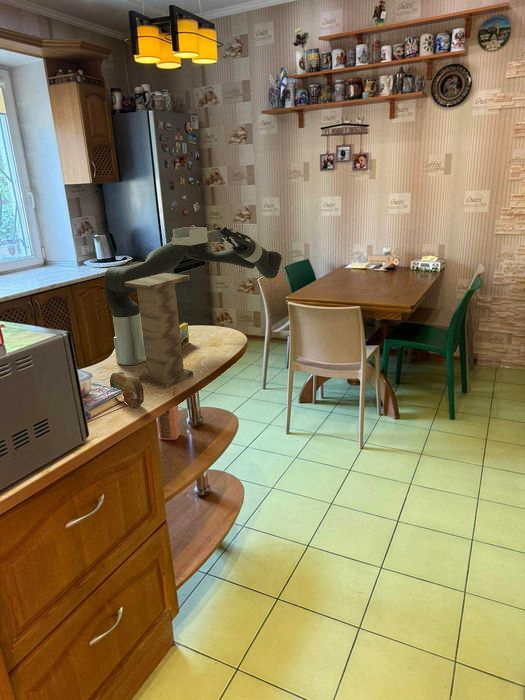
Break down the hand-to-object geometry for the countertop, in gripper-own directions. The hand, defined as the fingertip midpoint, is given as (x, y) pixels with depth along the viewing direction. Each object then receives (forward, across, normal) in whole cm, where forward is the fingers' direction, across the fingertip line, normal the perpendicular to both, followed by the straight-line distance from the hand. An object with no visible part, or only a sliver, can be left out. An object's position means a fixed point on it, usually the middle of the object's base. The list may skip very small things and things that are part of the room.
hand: (219, 229), depth 166 cm
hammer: (+4, 0, -6) cm, 7 cm away
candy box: (-14, +17, -42) cm, 48 cm away
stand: (+5, 0, -53) cm, 53 cm away
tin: (+20, -4, -62) cm, 65 cm away
